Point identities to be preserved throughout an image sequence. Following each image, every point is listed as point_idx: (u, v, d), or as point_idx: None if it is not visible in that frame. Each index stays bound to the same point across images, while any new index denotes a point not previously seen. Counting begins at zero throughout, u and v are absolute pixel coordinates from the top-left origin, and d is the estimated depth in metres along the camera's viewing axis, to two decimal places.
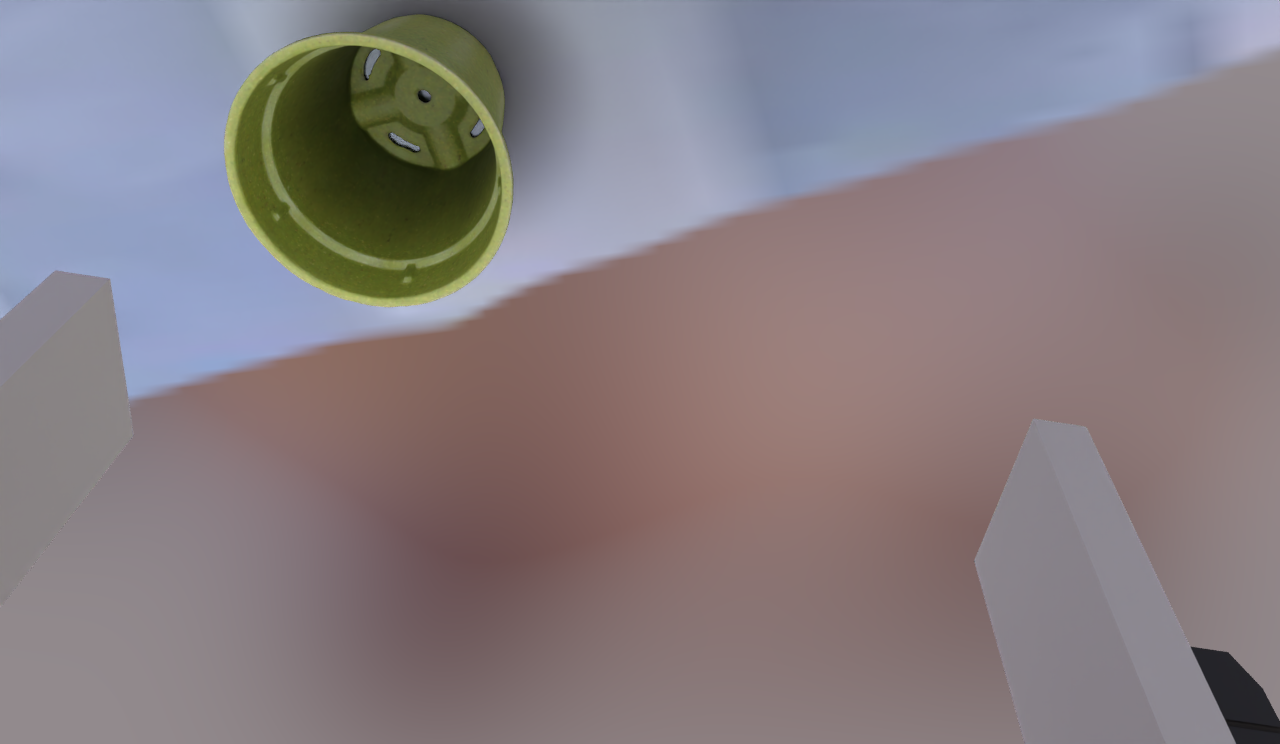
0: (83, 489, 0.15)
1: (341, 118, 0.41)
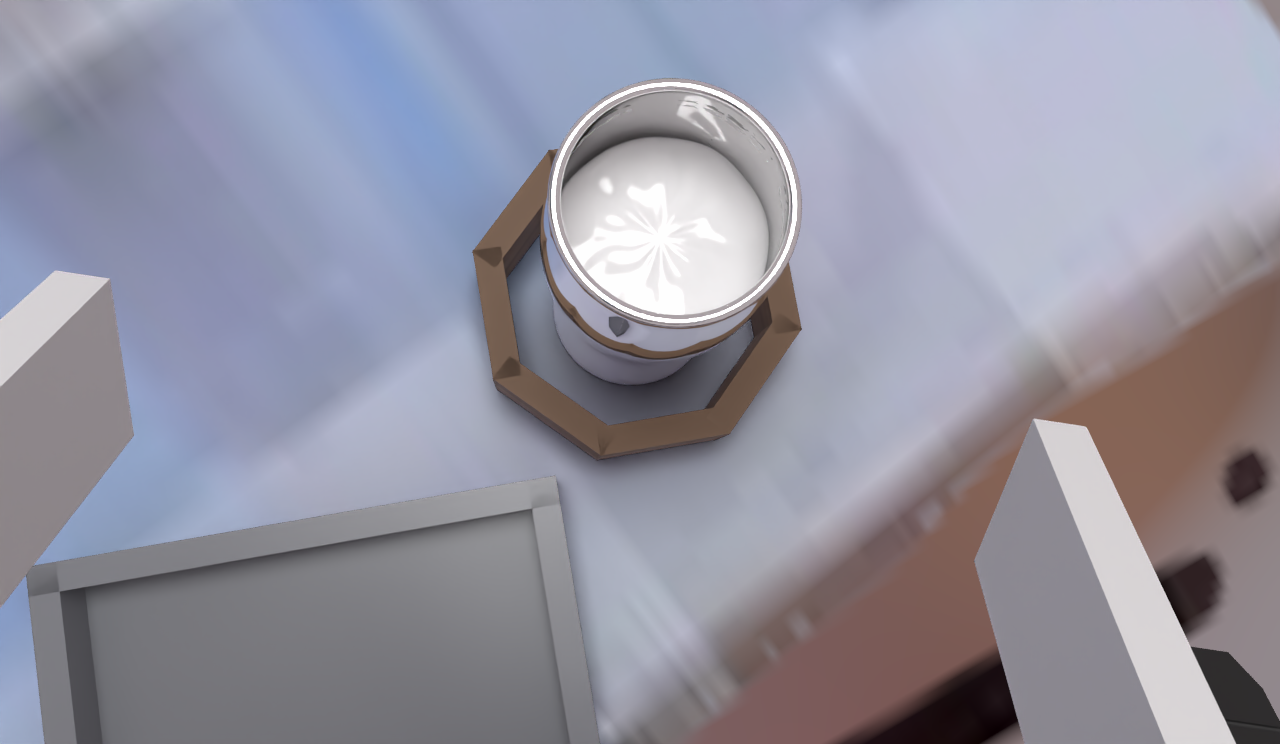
0: (83, 489, 0.15)
1: None
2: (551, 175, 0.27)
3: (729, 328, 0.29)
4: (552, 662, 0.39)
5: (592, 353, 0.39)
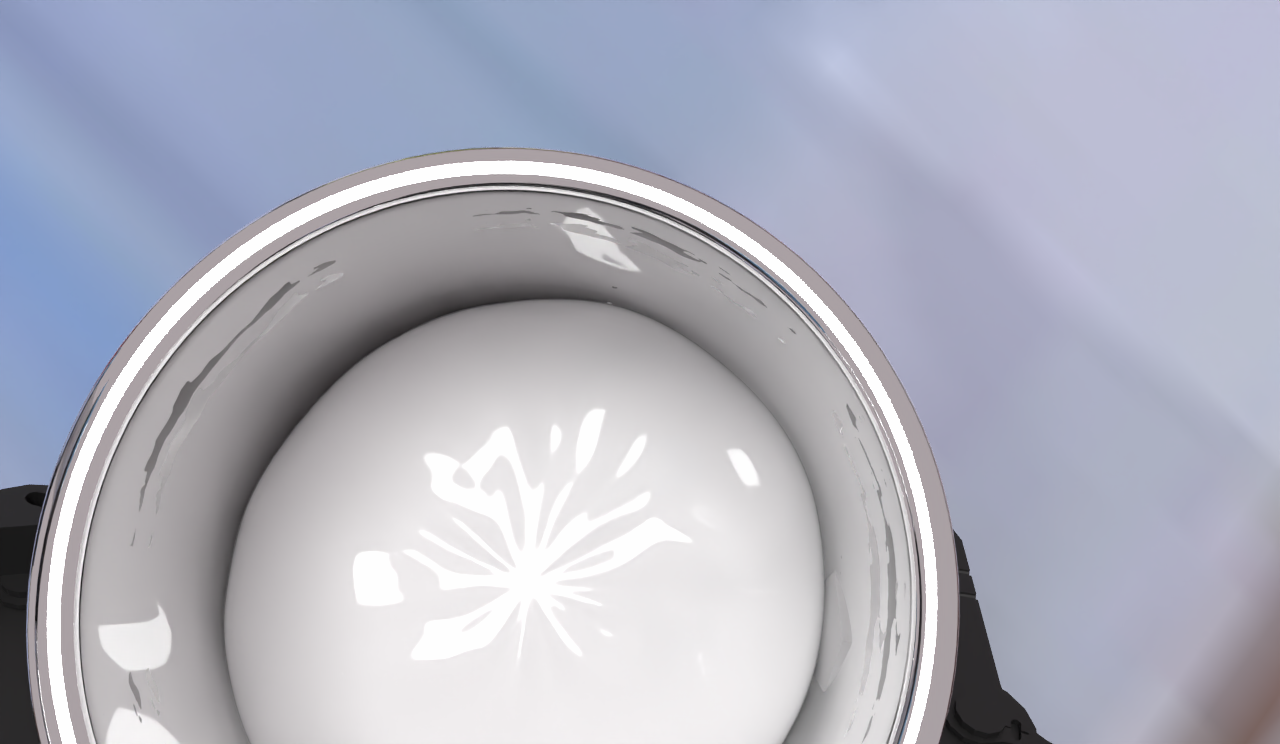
0: None
1: None
2: (30, 593, 0.07)
3: None
4: None
5: None
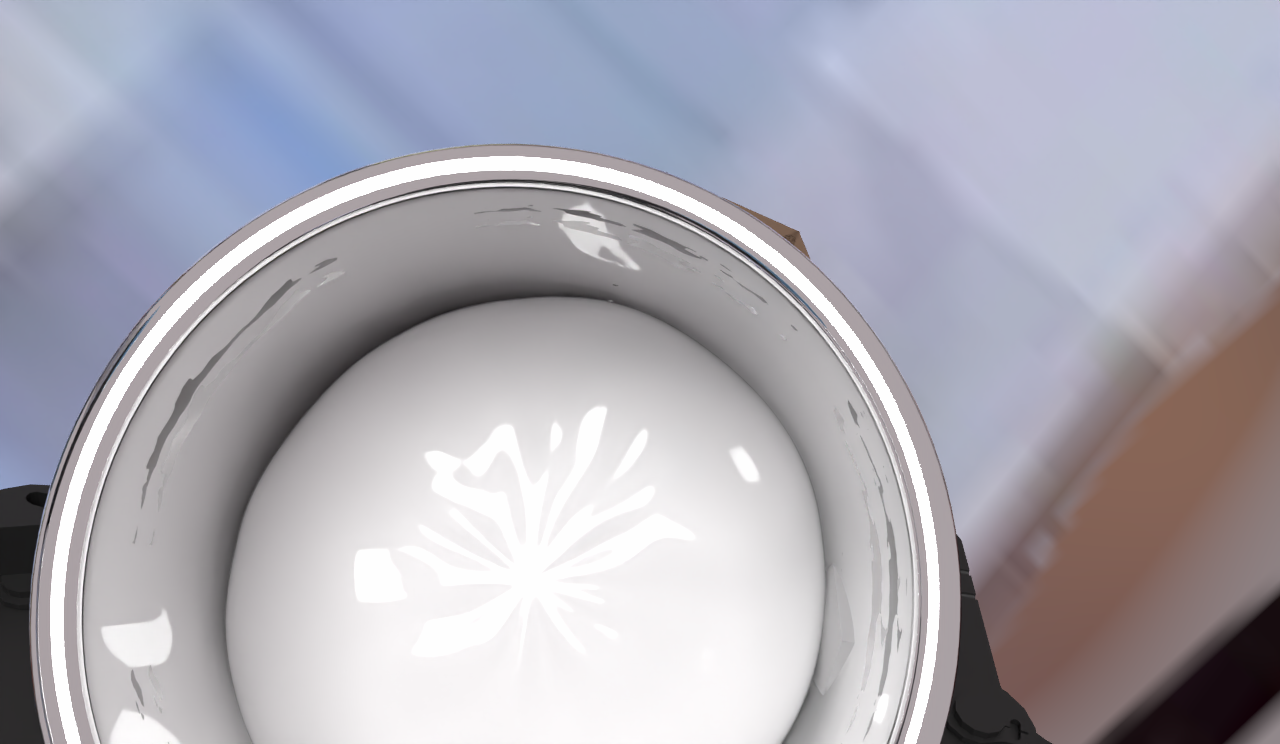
0: None
1: None
2: (33, 590, 0.07)
3: None
4: None
5: None
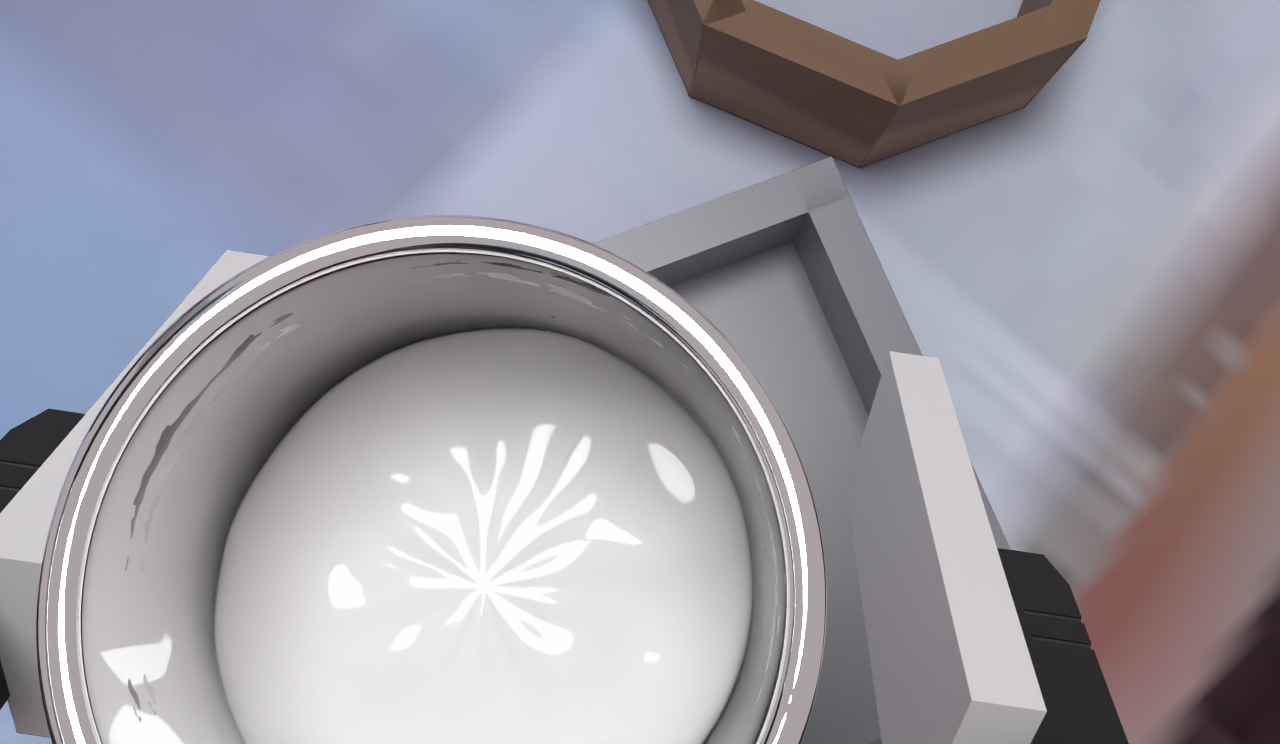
0: None
1: None
2: (39, 616, 0.09)
3: None
4: None
5: None
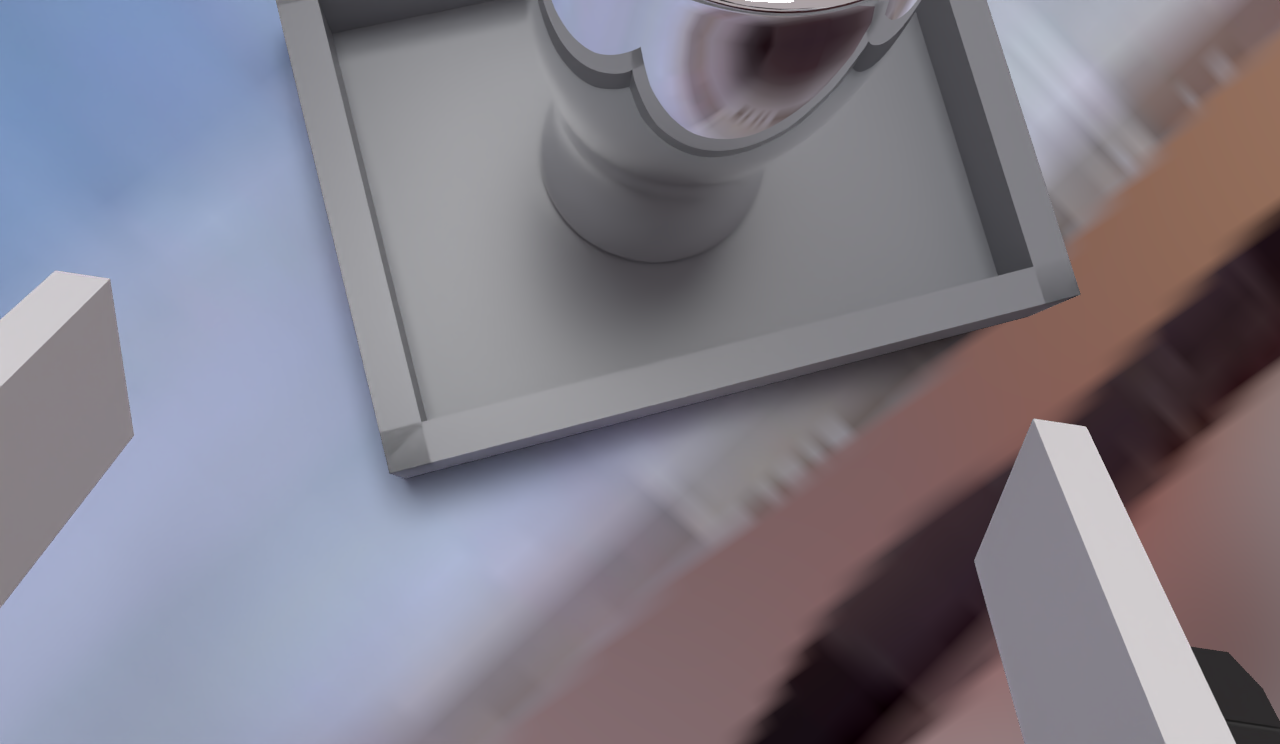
0: (83, 489, 0.15)
1: None
2: None
3: (877, 42, 0.16)
4: (938, 102, 0.30)
5: (610, 210, 0.26)
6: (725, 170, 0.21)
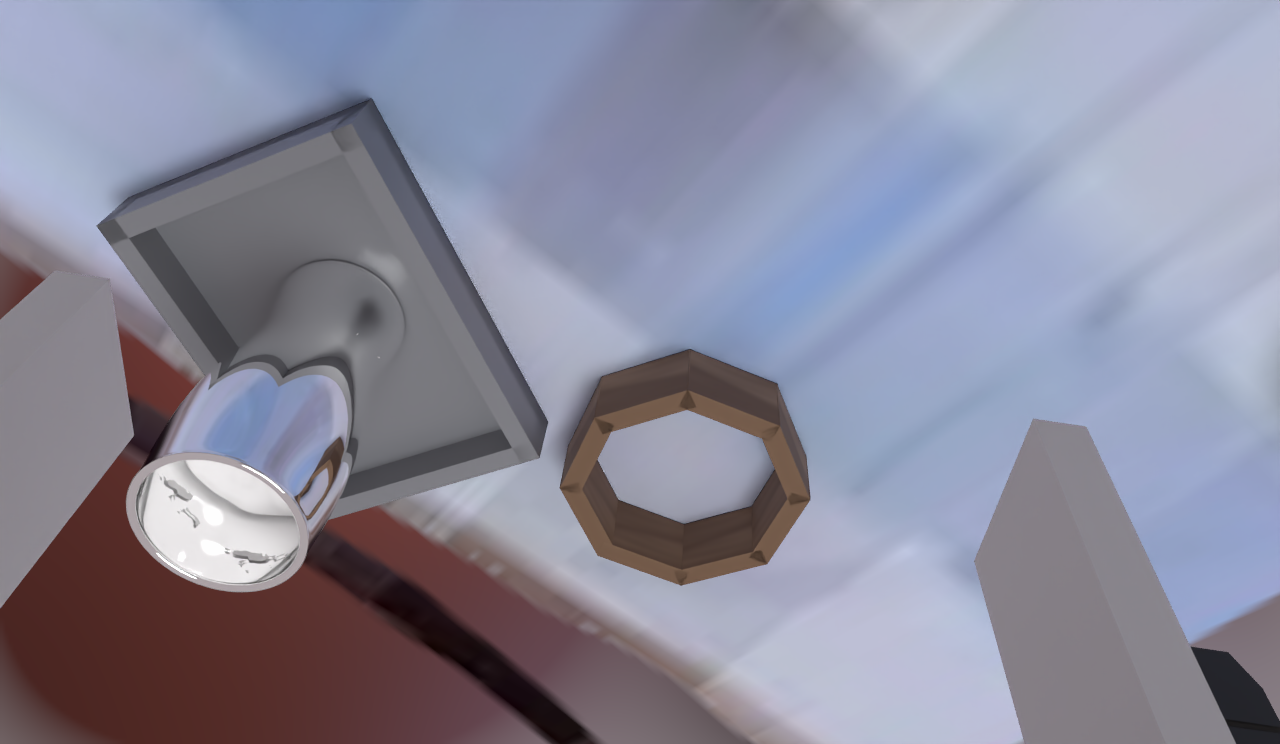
0: (83, 489, 0.15)
1: None
2: (189, 454, 0.37)
3: None
4: (418, 450, 0.55)
5: None
6: None
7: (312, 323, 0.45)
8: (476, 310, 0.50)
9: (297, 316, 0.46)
